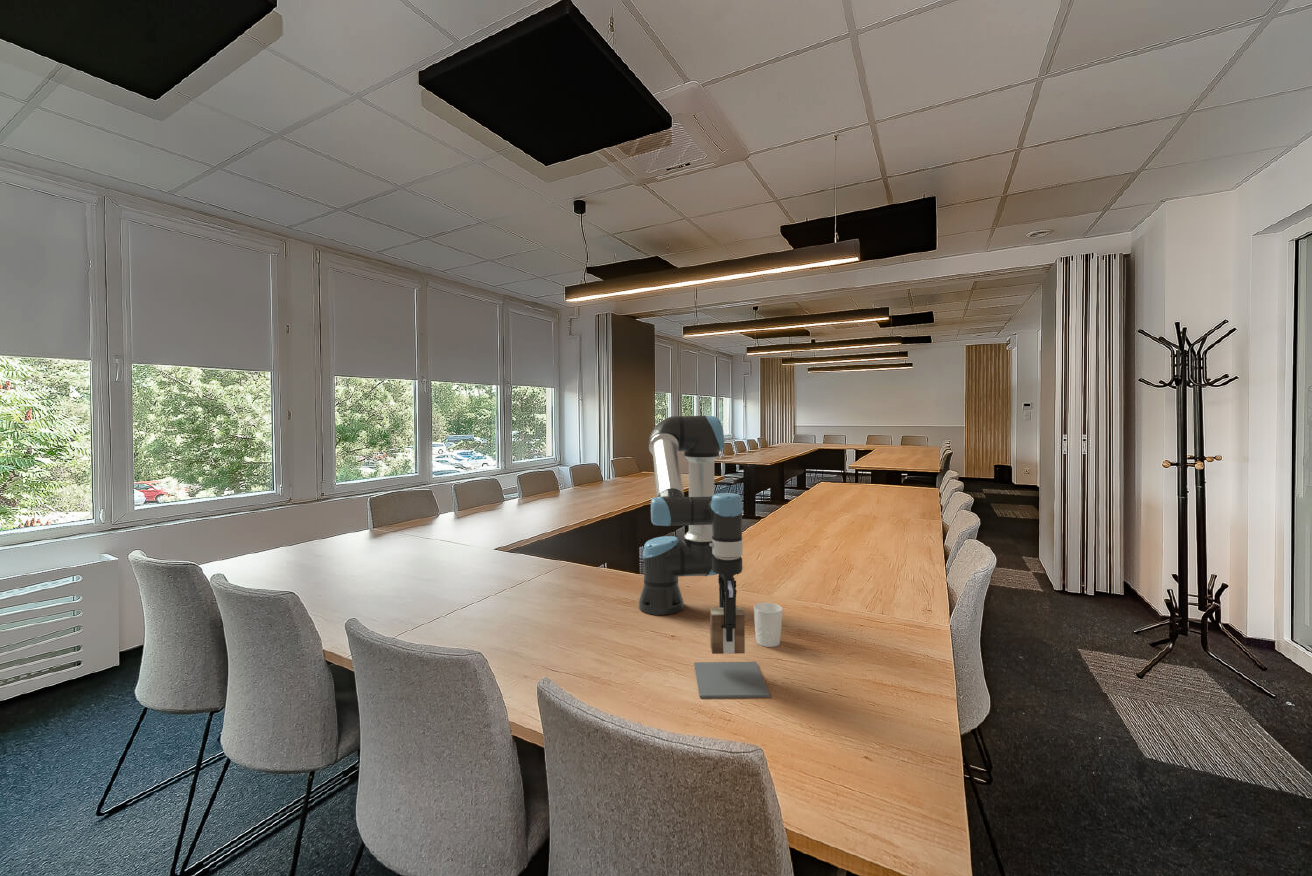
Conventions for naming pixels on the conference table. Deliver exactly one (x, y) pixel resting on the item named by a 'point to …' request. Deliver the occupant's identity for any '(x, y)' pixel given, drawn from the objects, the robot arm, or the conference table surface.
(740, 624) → the walnut slab
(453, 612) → the conference table surface
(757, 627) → the white cup
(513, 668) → the conference table surface
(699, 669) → the rubber mat
